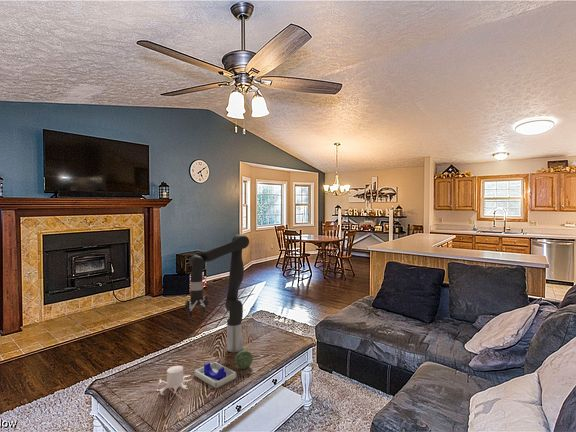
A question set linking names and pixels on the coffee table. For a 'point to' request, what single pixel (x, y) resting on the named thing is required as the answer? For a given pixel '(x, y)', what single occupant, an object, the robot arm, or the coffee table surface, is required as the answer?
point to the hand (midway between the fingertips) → (196, 315)
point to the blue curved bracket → (212, 374)
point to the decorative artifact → (243, 359)
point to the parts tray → (215, 366)
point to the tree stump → (174, 379)
